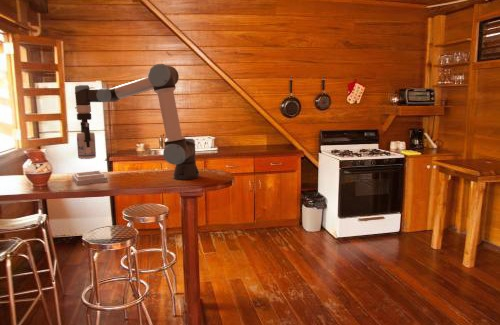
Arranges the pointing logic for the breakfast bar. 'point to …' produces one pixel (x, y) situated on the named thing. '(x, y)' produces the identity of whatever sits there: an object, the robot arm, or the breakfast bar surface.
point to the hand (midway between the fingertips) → (86, 151)
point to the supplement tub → (81, 146)
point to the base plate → (89, 177)
